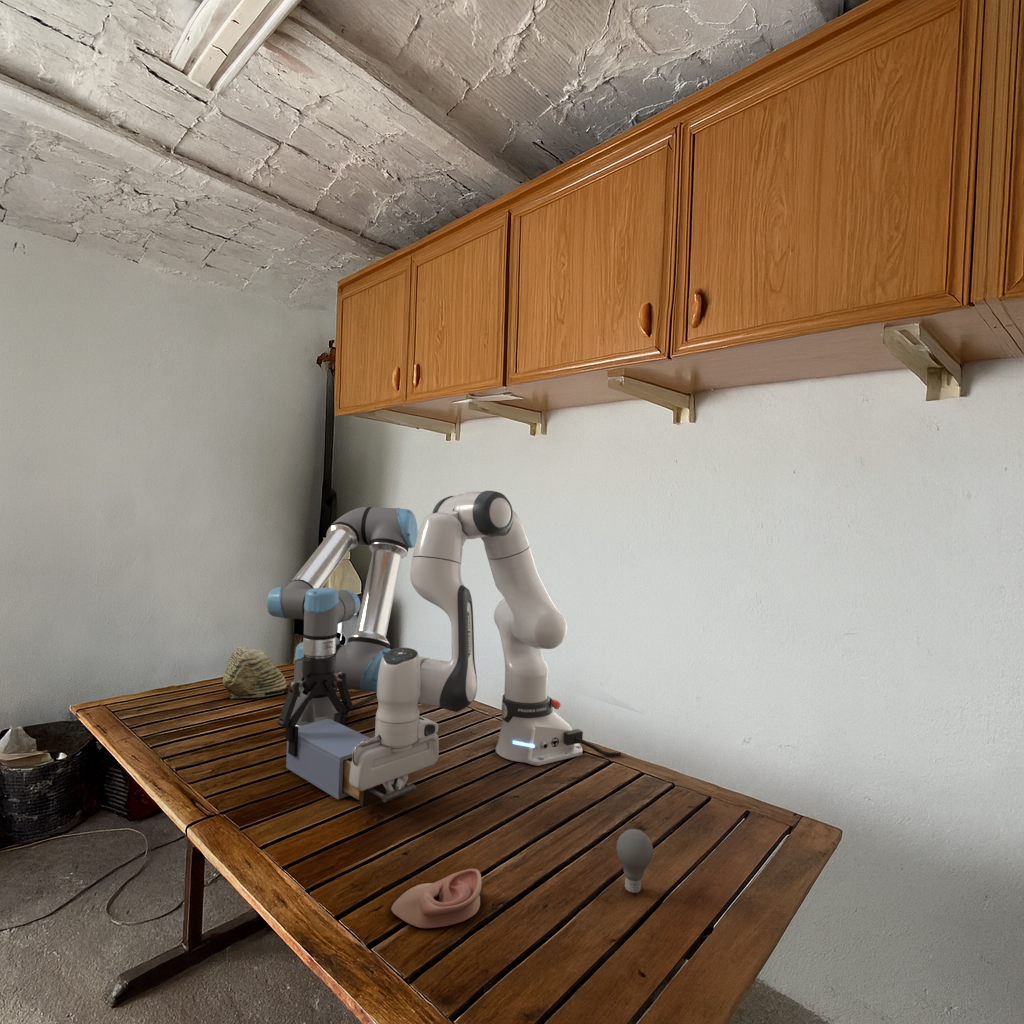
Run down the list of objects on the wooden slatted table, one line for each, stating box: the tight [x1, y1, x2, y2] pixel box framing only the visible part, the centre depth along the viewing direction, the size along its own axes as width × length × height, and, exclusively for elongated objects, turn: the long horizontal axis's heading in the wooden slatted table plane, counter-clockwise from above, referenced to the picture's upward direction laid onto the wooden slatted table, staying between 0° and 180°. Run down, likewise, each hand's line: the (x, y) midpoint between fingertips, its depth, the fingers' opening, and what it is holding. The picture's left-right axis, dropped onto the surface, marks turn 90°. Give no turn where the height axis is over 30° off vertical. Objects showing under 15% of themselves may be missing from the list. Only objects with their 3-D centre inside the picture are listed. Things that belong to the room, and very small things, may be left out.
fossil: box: [222, 646, 288, 699], centre depth 198 cm, size 9×18×15 cm, turn 132°
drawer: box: [342, 758, 417, 809], centre depth 136 cm, size 26×10×7 cm, turn 49°
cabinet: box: [285, 719, 371, 801], centre depth 144 cm, size 21×11×9 cm, turn 49°
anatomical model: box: [391, 868, 483, 929], centre depth 99 cm, size 13×4×12 cm
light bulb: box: [615, 828, 654, 894], centre depth 106 cm, size 6×6×10 cm
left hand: (315, 747), depth 149 cm, fingers closed on cabinet, 11 cm apart
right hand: (394, 797), depth 129 cm, fingers closed, pressing on drawer
